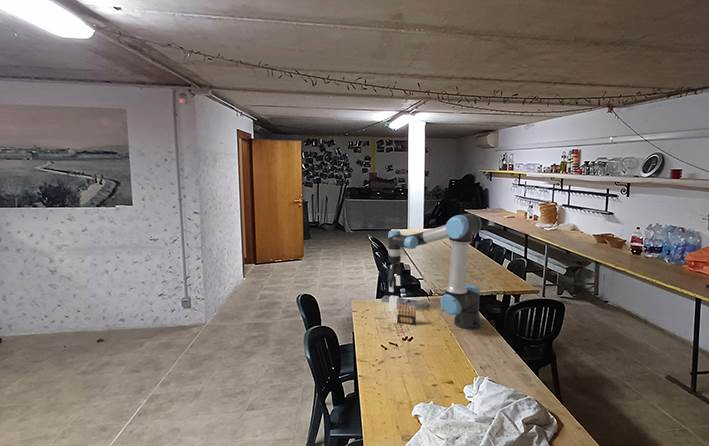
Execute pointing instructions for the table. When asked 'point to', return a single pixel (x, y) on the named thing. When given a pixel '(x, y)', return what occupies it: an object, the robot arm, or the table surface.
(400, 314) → the ammunition clip
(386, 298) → the strip
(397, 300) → the charger
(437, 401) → the table surface
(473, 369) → the table surface
